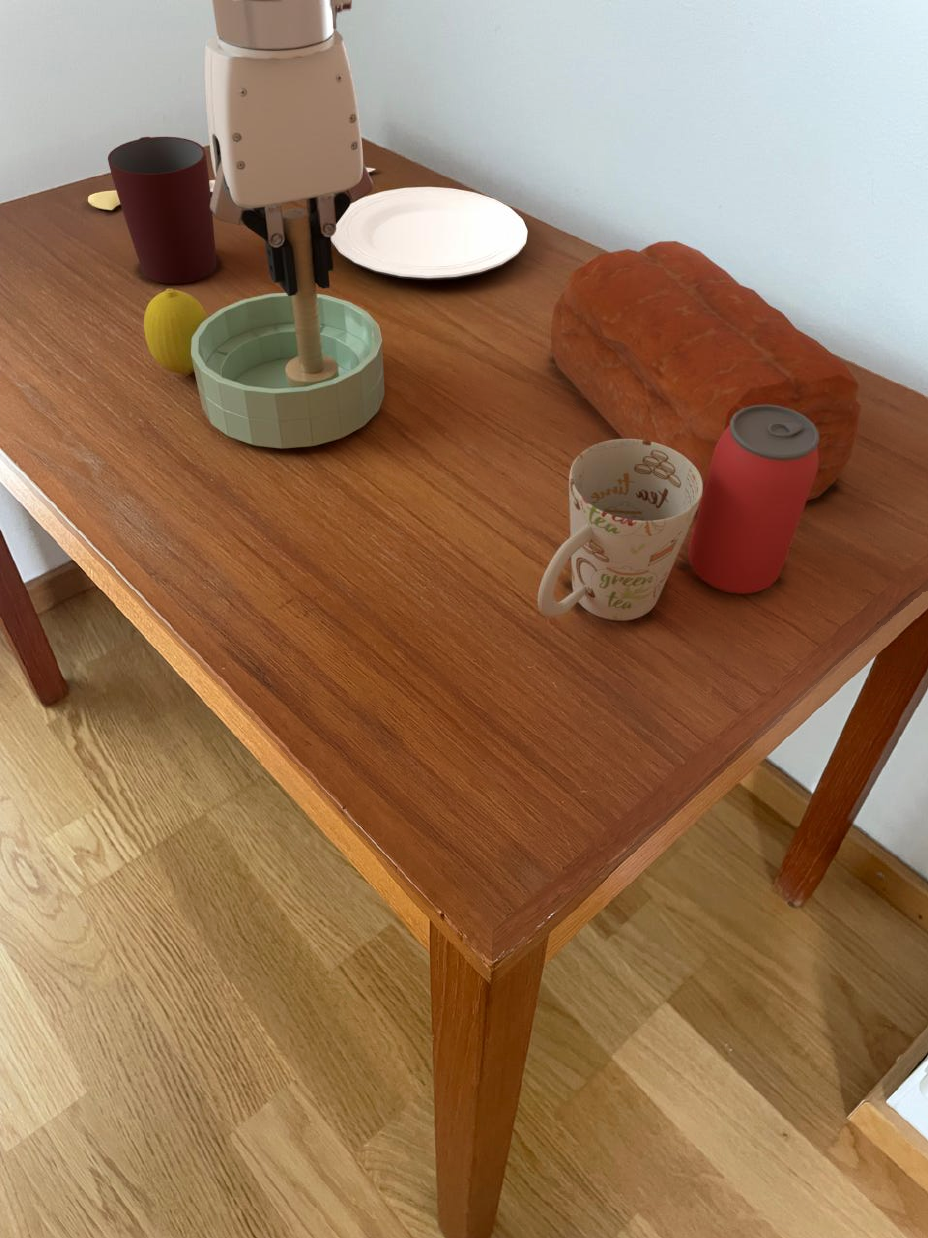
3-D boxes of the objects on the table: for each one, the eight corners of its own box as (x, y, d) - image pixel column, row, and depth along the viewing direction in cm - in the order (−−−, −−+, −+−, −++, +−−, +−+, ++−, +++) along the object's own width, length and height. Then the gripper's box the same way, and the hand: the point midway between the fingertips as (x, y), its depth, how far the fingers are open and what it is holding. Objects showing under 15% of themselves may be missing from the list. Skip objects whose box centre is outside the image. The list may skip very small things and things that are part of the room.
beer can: (796, 588, 68) (848, 451, 59) (711, 606, 67) (753, 468, 58) (751, 528, 72) (794, 392, 64) (671, 544, 71) (704, 407, 62)
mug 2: (698, 589, 68) (729, 477, 61) (588, 689, 62) (608, 578, 54) (603, 534, 72) (622, 422, 64) (491, 623, 65) (497, 510, 58)
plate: (302, 277, 97) (300, 259, 96) (365, 192, 111) (364, 175, 110) (504, 306, 94) (505, 288, 93) (543, 215, 108) (544, 198, 107)
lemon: (213, 392, 83) (196, 307, 77) (148, 391, 83) (127, 305, 77) (224, 358, 87) (209, 274, 81) (163, 356, 87) (143, 272, 81)
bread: (676, 323, 93) (697, 214, 85) (860, 486, 76) (908, 369, 68) (531, 356, 88) (541, 244, 80) (695, 538, 72) (726, 419, 64)
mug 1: (121, 242, 102) (94, 132, 94) (205, 228, 104) (185, 119, 96) (144, 295, 94) (117, 180, 86) (233, 278, 97) (215, 165, 89)
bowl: (237, 476, 75) (225, 411, 71) (182, 378, 85) (168, 315, 80) (413, 426, 80) (412, 363, 76) (343, 338, 90) (338, 277, 85)
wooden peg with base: (297, 397, 80) (277, 231, 69) (279, 370, 82) (257, 206, 72) (346, 384, 81) (334, 220, 71) (327, 358, 84) (312, 196, 73)
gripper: (364, -13, 67) (376, 244, 80) (136, 14, 62) (189, 284, 75) (410, 18, 62) (415, 284, 76) (168, 49, 57) (218, 329, 71)
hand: (302, 282), depth 75 cm, fingers closed on wooden peg with base, 2 cm apart
